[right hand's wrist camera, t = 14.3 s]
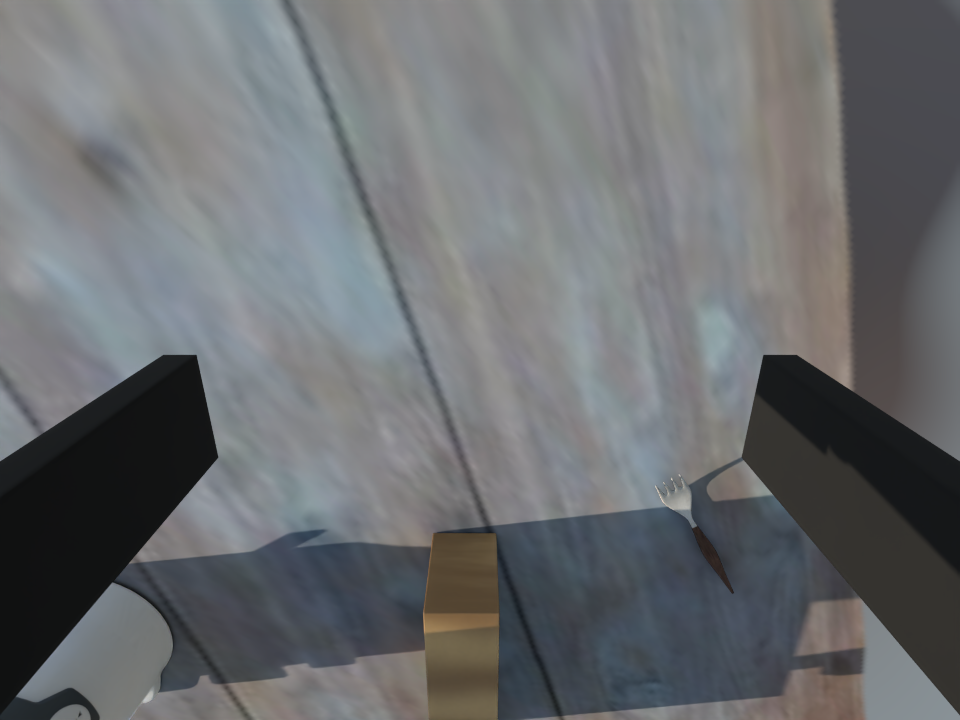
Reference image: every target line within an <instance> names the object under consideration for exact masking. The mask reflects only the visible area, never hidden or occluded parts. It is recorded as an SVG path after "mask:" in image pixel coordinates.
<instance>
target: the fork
mask: <svg viewBox="0 0 960 720" xmlns="http://www.w3.org/2000/svg"><path fill="white" fill-rule="evenodd" d="M679 476H680V479H681V482H682V487H679V486H678V485H677V484H676V482H675V481H674V480H673V479H672V478H671V479H672V483H673V485H674V488H675V490H673V491H672V490H671V489H670V488H669V487H668V486H667V485H666V484H665V483H664V482H663V483H664V486H665V488H666V490H667V494H663V493H662V491H661V490H660V489H659V488H658V487H657V486H655V487H656V489H657V491H658V493H659V495H660V497H661V500H662V502H663V503H664V504H665V505H666V506H668V507H669V508H671V509H672V510H674V511H676V512H677V513H679V514H681V515H683V516H684V517H685V518H686V519H687V520H688V521H689V523H690V525H691V527H692V530H693V532H694V535H695V537H696V540H697V542H698V544H699V547H700V549H701V551H702V553H703V555H704V557H705V558H706V560H707V561H708V562H709V564H710V565H711V566H712V567H713V569H714V570H715V571H716V572H717V574H718V575H719V576H720V578H721V579H722V580H723V582H724V583H725V585H726V586H727V587H728V589H729V590H730V591H731V593H732V594H733V593H734V592H733V589H732V587H731V585H730V583H729V580H728V578H727V576H726V573H725V571H724V569H723V566H722V564H721V561H720V559H719V556H718V554H717V552H716V550H715V549H714V547H713V546H712V544H711V543H710V542H709V540H708V539H707V538H706V536H705V535H704V534H703V532H702V531H701V530H700V529H699V527H698V526H697V525H696V523H695V522H694V520H693V519H692V515H691V505H692V493H691V489H690V487H689V486H688V485H687V483H686V482H685V480H684V479H683V478H682V476H681V475H680V474H679Z"/></svg>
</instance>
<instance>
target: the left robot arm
mask: <svg viewBox="0 0 960 720" xmlns="http://www.w3.org/2000/svg"><path fill="white" fill-rule="evenodd" d="M172 650H173V639H172V635H171V632H170V629H169V627H168V625H167V623H166V621H165V620H164V618H163V617H162V615H161V614H160V613H159V612H158V611H157V610H156V609H155V608H154V607H153V606H152V605H151V604H150V603H149V602H148V601H146V600H145V599H144V598H142V597H141V596H139V595H138V594H136V593H135V592H133V591H131V590H129V589H127V588H125V587H123V586H121V585H118V584H115V583H113V582H112V584H111V585H110V586H109V587H108V588H107V590H106V591H105V592H104V593H103V594H102V595H101V597H100V598H99V599H98V600H97V601H96V603H95V604H94V605H93V606H92V607H91V608H90V610H89V611H88V612H87V613H86V614H85V616H84V617H83V618H82V619H81V620H80V621H79V623H78V624H77V625H76V626H75V627H74V629H73V630H72V631H71V632H70V633H69V634H68V636H67V637H66V638H65V639H64V640H63V642H62V643H61V644H60V645H59V646H58V647H57V649H56V650H55V651H54V652H53V653H52V654H51V656H50V657H49V658H48V659H47V660H46V662H45V663H44V664H43V665H42V666H41V667H40V669H39V670H38V671H37V672H36V673H35V675H34V676H33V677H32V678H31V679H30V680H29V682H28V683H27V684H26V685H25V686H24V688H23V689H22V690H21V691H20V692H19V693H18V695H17V696H16V697H15V698H14V699H13V701H12V702H11V703H10V704H9V705H8V706H7V708H6V709H5V710H4V711H3V712H2V714H1V715H0V720H130V718H131V717H132V716H133V714H134V713H135V711H136V710H137V709H138V707H139V706H140V704H141V703H147V702H150V701H152V700H153V699H154V698H155V696H156V695H157V693H158V692H159V690H160V686H161V676H160V675H161V672H162V671H163V669H164V668H165V666H166V665H167V663H168V662H169V660H170V658H171V655H172Z"/></svg>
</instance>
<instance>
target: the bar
mask: <svg viewBox="0 0 960 720" xmlns="http://www.w3.org/2000/svg"><path fill="white" fill-rule="evenodd" d="M499 615H500V613H499V589H498V564H497V540H496V533H433V538H432V546H431V554H430V562H429V570H428V578H427V586H426V595H425V603H424V611H423V619H424V638H425V657H426V675H427V694H428V713H429V720H498V671H499Z"/></svg>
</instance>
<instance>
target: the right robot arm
mask: <svg viewBox="0 0 960 720" xmlns="http://www.w3.org/2000/svg"><path fill="white" fill-rule="evenodd" d="M217 458H218V454H217V449H216V444H215V440H214V435H213V430H212V426H211V421H210V416H209V412H208V407H207V402H206V397H205V393H204V388H203V383H202V379H201V374H200V369H199V365H198V360H197V355H163V356H161V357H160V358H158V359H156V360H155V361H153V362H152V363H150V364H149V365H147V366H146V367H144V368H143V369H141V370H140V371H138V372H137V373H135V374H133V375H132V376H130V377H129V378H127V379H126V380H124V381H123V382H121V383H120V384H118V385H117V386H115V387H114V388H112V389H110V390H109V391H107V392H106V393H104V394H103V395H101V396H100V397H98V398H97V399H95V400H94V401H92V402H91V403H89V404H88V405H86V406H84V407H83V408H81V409H80V410H78V411H77V412H75V413H74V414H72V415H71V416H69V417H68V418H66V419H65V420H63V421H61V422H60V423H58V424H57V425H55V426H54V427H52V428H51V429H49V430H48V431H46V432H45V433H43V434H42V435H40V436H38V437H37V438H35V439H34V440H32V441H31V442H29V443H28V444H26V445H25V446H23V447H22V448H20V449H19V450H17V451H16V452H14V453H12V454H11V455H9V456H8V457H6V458H5V459H3V460H2V461H0V715H1V714H2V712H3V711H4V710H5V709H6V708H7V706H8V705H9V704H10V703H11V702H12V701H13V699H14V698H15V697H16V696H17V695H18V693H19V692H20V691H21V690H22V689H23V688H24V686H25V685H26V684H27V683H28V682H29V680H30V679H31V678H32V677H33V676H34V675H35V673H36V672H37V671H38V670H39V669H40V667H41V666H42V665H43V664H44V663H45V662H46V660H47V659H48V658H49V657H50V656H51V654H52V653H53V652H54V651H55V650H56V649H57V647H58V646H59V645H60V644H61V643H62V642H63V640H64V639H65V638H66V637H67V636H68V634H69V633H70V632H71V631H72V630H73V629H74V627H75V626H76V625H77V624H78V623H79V621H80V620H81V619H82V618H83V617H84V616H85V614H86V613H87V612H88V611H89V610H90V608H91V607H92V606H93V605H94V604H95V603H96V601H97V600H98V599H99V598H100V597H101V595H102V594H103V593H104V592H105V591H106V590H107V588H108V587H109V586H110V585H111V584H112V582H113V581H114V580H115V579H116V578H117V577H118V575H119V574H120V573H121V572H122V571H123V569H124V568H125V567H126V566H127V565H128V564H129V562H130V561H131V560H132V559H133V558H134V556H135V555H136V554H137V553H138V552H139V551H140V549H141V548H142V547H143V546H144V545H145V543H146V542H147V541H148V540H149V539H150V538H151V536H152V535H153V534H154V533H155V532H156V530H157V529H158V528H159V527H160V526H161V525H162V523H163V522H164V521H165V520H166V519H167V517H168V516H169V515H170V514H171V513H172V512H173V510H174V509H175V508H176V507H177V506H178V504H179V503H180V502H181V501H182V500H183V499H184V497H185V496H186V495H187V494H188V493H189V491H190V490H191V489H192V488H193V487H194V486H195V484H196V483H197V482H198V481H199V480H200V478H201V477H202V476H203V475H204V474H205V473H206V471H207V470H208V469H209V468H210V467H211V465H212V464H213V463H214V462H215V461H216V460H217ZM742 458H743V460H744V461H745V462H746V463H747V464H748V465H749V467H750V468H751V469H752V470H753V471H754V473H755V474H756V475H757V476H758V477H759V478H760V480H761V481H762V482H763V483H764V484H765V486H766V487H767V488H768V489H769V490H770V491H771V493H772V494H773V495H774V496H775V497H776V499H777V500H778V501H779V502H780V503H781V504H782V506H783V507H784V508H785V509H786V510H787V512H788V513H789V514H790V515H791V516H792V517H793V519H794V520H795V521H796V522H797V523H798V525H799V526H800V527H801V528H802V529H803V530H804V532H805V533H806V534H807V535H808V536H809V538H810V539H811V540H812V541H813V542H814V543H815V545H816V546H817V547H818V548H819V549H820V551H821V552H822V553H823V554H824V555H825V556H826V558H827V559H828V560H829V561H830V562H831V564H832V565H833V566H834V567H835V568H836V569H837V571H838V572H839V573H840V574H841V575H842V577H843V578H844V579H845V580H846V581H847V582H848V584H849V585H850V586H851V587H852V588H853V590H854V591H855V592H856V593H857V594H858V595H859V597H860V598H861V599H862V600H863V601H864V603H865V604H866V605H867V606H868V607H869V608H870V610H871V611H872V612H873V613H874V614H875V616H876V617H877V618H878V619H879V620H880V621H881V623H882V624H883V625H884V626H885V627H886V628H887V630H888V631H889V632H890V633H891V634H892V636H893V637H894V638H895V639H896V640H897V641H898V643H899V644H900V645H901V646H902V647H903V649H904V650H905V651H906V652H907V653H908V654H909V656H910V657H911V658H912V659H913V660H914V662H915V663H916V664H917V665H918V666H919V667H920V669H921V670H922V671H923V672H924V673H925V675H926V676H927V677H928V678H929V679H930V680H931V682H932V683H933V684H934V685H935V686H936V688H937V689H938V690H939V691H940V692H941V693H942V695H943V696H944V697H945V698H946V699H947V701H948V702H949V703H950V704H951V705H952V706H953V708H954V709H955V710H956V711H957V712H958V714H959V715H960V461H958V460H957V459H955V458H954V457H952V456H951V455H949V454H948V453H946V452H944V451H943V450H941V449H940V448H938V447H937V446H935V445H934V444H932V443H931V442H929V441H928V440H926V439H925V438H923V437H921V436H920V435H918V434H917V433H915V432H914V431H912V430H911V429H909V428H908V427H906V426H905V425H903V424H902V423H900V422H898V421H897V420H895V419H894V418H892V417H891V416H889V415H888V414H886V413H885V412H883V411H882V410H880V409H879V408H877V407H876V406H874V405H872V404H871V403H869V402H868V401H866V400H865V399H863V398H862V397H860V396H859V395H857V394H856V393H854V392H853V391H851V390H850V389H848V388H846V387H845V386H843V385H842V384H840V383H839V382H837V381H836V380H834V379H833V378H831V377H830V376H828V375H827V374H825V373H823V372H822V371H820V370H819V369H817V368H816V367H814V366H813V365H811V364H810V363H808V362H807V361H805V360H804V359H802V358H800V357H799V356H797V355H763V360H762V365H761V369H760V374H759V379H758V383H757V388H756V393H755V397H754V402H753V407H752V412H751V416H750V421H749V426H748V430H747V435H746V440H745V444H744V449H743V454H742Z"/></svg>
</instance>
